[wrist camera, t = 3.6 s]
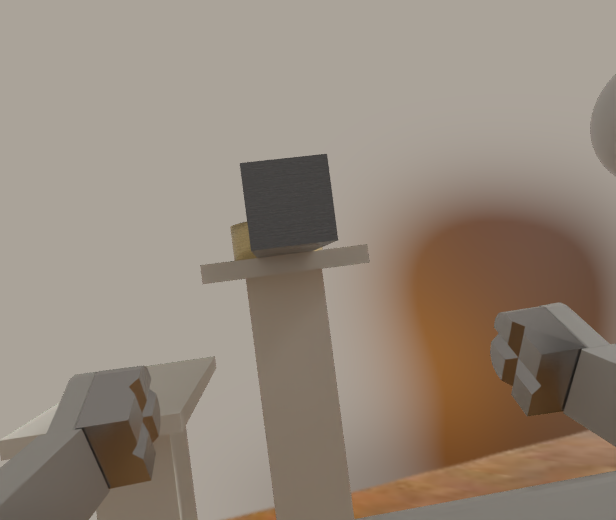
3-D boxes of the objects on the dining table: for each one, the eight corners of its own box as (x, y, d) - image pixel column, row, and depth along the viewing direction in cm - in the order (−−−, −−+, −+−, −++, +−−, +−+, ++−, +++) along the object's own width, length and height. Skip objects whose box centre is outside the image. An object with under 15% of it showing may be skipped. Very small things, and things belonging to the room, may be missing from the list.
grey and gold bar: (238, 265, 40) (233, 231, 40) (318, 255, 40) (313, 221, 41) (191, 258, 15) (180, 169, 16) (394, 233, 16) (383, 147, 16)
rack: (135, 589, 39) (97, 283, 39) (366, 546, 41) (328, 254, 41) (43, 810, 23) (-20, 293, 23) (429, 723, 25) (367, 244, 25)
